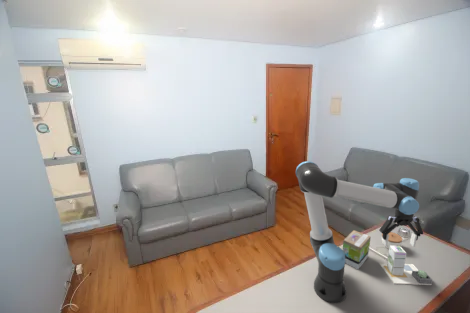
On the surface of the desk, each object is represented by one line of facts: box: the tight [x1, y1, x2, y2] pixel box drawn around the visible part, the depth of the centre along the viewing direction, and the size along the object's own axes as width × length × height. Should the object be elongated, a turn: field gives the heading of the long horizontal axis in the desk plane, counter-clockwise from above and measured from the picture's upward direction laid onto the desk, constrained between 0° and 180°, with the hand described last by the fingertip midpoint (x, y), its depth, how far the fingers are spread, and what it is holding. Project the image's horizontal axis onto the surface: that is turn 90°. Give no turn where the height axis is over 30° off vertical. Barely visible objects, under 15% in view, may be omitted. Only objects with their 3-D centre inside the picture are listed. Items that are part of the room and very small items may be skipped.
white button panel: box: [379, 263, 433, 286], centre depth 119 cm, size 18×14×3 cm
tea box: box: [342, 229, 371, 270], centre depth 130 cm, size 15×10×15 cm, turn 131°
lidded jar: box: [381, 231, 403, 250], centre depth 140 cm, size 11×11×9 cm
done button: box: [417, 269, 428, 278], centre depth 114 cm, size 4×4×3 cm
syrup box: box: [386, 245, 407, 276], centre depth 119 cm, size 6×6×14 cm
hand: (398, 244), depth 117 cm, fingers open, 13 cm apart
